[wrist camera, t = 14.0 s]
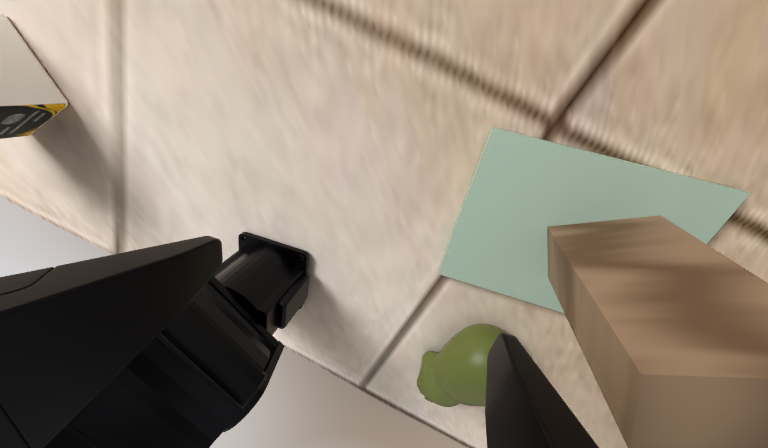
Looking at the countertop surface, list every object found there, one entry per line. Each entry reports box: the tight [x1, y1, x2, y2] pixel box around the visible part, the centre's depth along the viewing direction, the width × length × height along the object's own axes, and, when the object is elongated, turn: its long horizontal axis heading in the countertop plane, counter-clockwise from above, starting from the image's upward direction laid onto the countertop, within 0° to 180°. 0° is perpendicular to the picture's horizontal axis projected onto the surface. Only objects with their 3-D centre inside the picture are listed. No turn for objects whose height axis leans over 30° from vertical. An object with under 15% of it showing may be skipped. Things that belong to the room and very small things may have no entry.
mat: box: [438, 127, 750, 314], centre depth 19 cm, size 14×11×1 cm
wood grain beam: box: [547, 215, 768, 448], centre depth 14 cm, size 6×4×11 cm, turn 103°
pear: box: [417, 324, 507, 407], centre depth 24 cm, size 6×5×10 cm
